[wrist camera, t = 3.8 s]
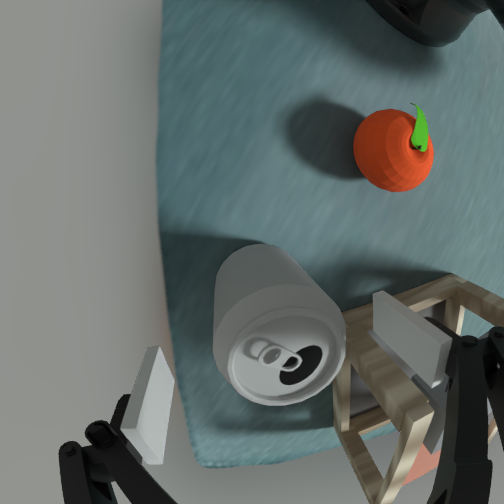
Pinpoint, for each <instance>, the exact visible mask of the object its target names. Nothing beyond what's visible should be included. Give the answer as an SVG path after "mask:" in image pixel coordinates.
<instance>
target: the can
mask: <svg viewBox="0 0 504 504" xmlns="http://www.w3.org/2000/svg"><path fill="white" fill-rule="evenodd" d="M345 350H346V323H345V321H344V318H343V316H342V313H341V310H340V308H339V307H338V306H337V305H336V304H335V303H334V301H333V300H332V299H331V298H330V297H329V296H328V295H327V294H326V293H325V292H324V291H323V290H322V289H321V287H320V286H319V285H318V284H317V283H316V282H315V281H314V280H313V279H312V278H311V277H310V276H309V275H308V274H307V273H306V272H305V270H304V269H303V268H302V267H301V266H300V265H299V264H298V263H297V262H296V261H295V260H294V259H293V258H292V257H291V256H290V255H289V254H288V253H287V252H286V251H284V250H282V249H280V248H278V247H276V246H274V245H266V244H255V245H249V246H245V247H243V248H241V249H239V250H237V251H235V252H233V253H232V254H231V255H230V256H229V257H228V258H227V259H226V260H225V261H224V262H223V263H222V265H221V267H220V269H219V271H218V273H217V275H216V282H215V292H214V320H213V355H214V358H215V362H216V365H217V369H218V370H219V371H220V373H221V374H222V375H223V377H224V378H225V379H226V380H227V382H228V383H230V384H231V385H232V386H233V387H234V389H235V390H236V391H237V392H238V393H239V394H240V395H242V396H243V397H245V398H247V399H248V400H250V401H252V402H255V403H259V404H263V405H267V406H285V405H289V404H293V403H298V402H301V401H304V400H306V399H308V398H310V397H312V396H314V395H316V394H317V393H319V392H320V391H321V390H323V389H324V388H325V387H326V386H327V385H329V384H330V383H331V382H332V380H333V379H334V378H335V376H336V375H337V374H338V372H339V371H340V369H341V366H342V364H343V361H344V358H345Z"/></svg>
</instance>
